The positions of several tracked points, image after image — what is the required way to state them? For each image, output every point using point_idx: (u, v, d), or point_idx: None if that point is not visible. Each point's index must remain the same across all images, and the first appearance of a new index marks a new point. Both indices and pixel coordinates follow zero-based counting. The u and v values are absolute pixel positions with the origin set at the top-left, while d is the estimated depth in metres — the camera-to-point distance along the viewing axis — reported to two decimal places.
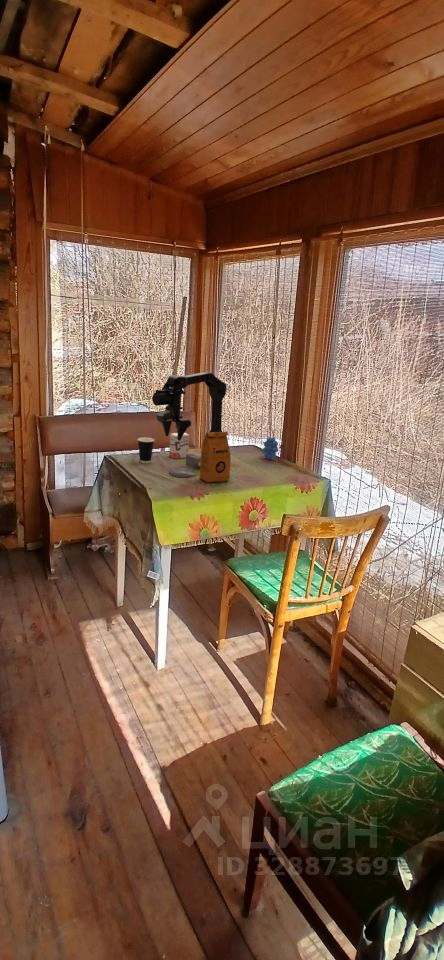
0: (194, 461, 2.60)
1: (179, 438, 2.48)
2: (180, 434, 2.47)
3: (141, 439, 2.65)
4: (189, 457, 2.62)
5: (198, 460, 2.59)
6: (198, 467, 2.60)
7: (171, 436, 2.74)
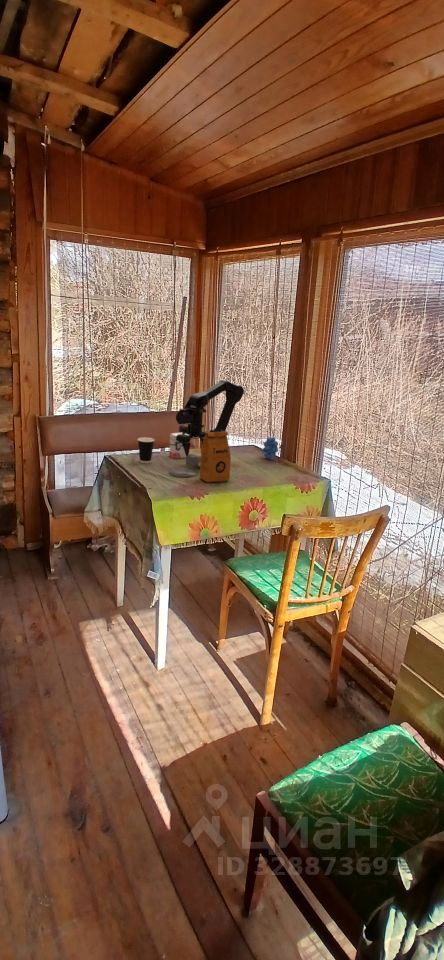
0: (194, 461, 2.60)
1: (185, 453, 2.59)
2: (185, 449, 2.58)
3: (141, 439, 2.65)
4: (189, 457, 2.62)
5: (198, 460, 2.59)
6: (198, 467, 2.60)
7: (171, 436, 2.74)
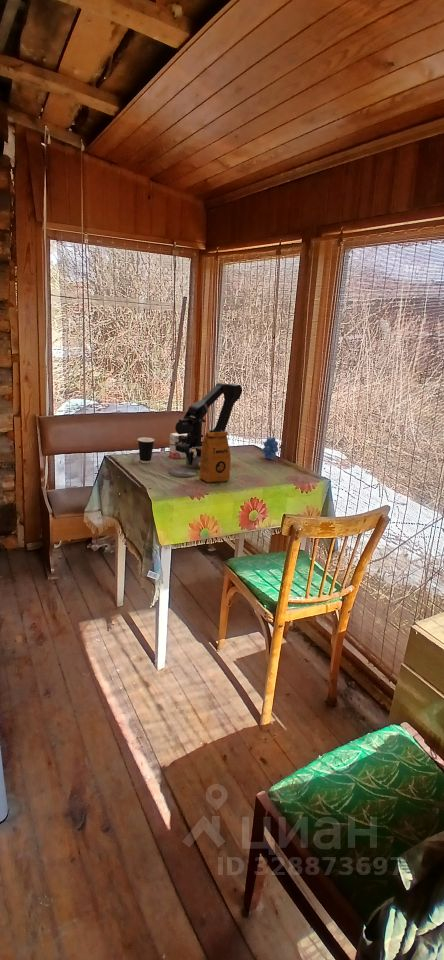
0: (194, 461, 2.60)
1: (189, 462, 2.62)
2: (188, 458, 2.61)
3: (141, 439, 2.65)
4: None
5: (198, 460, 2.59)
6: (198, 467, 2.60)
7: (171, 436, 2.74)
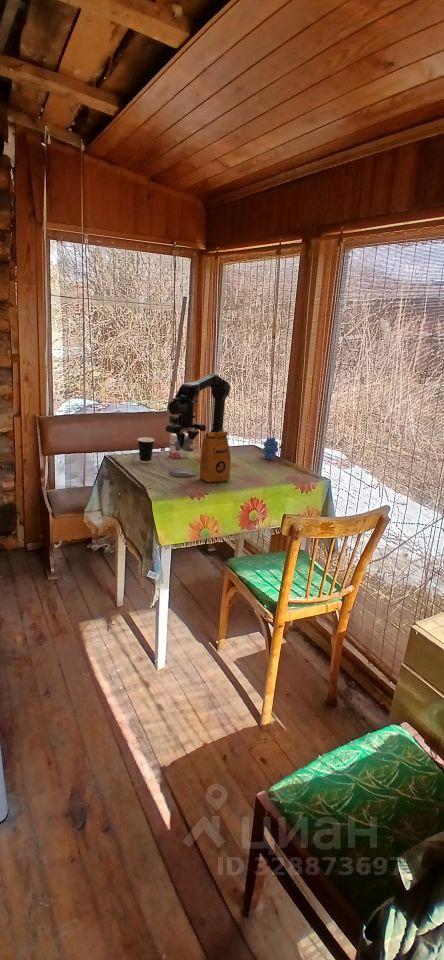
0: (185, 443, 2.45)
1: (180, 444, 2.47)
2: (179, 440, 2.47)
3: (141, 439, 2.65)
4: None
5: (189, 442, 2.45)
6: (189, 449, 2.46)
7: (171, 436, 2.74)
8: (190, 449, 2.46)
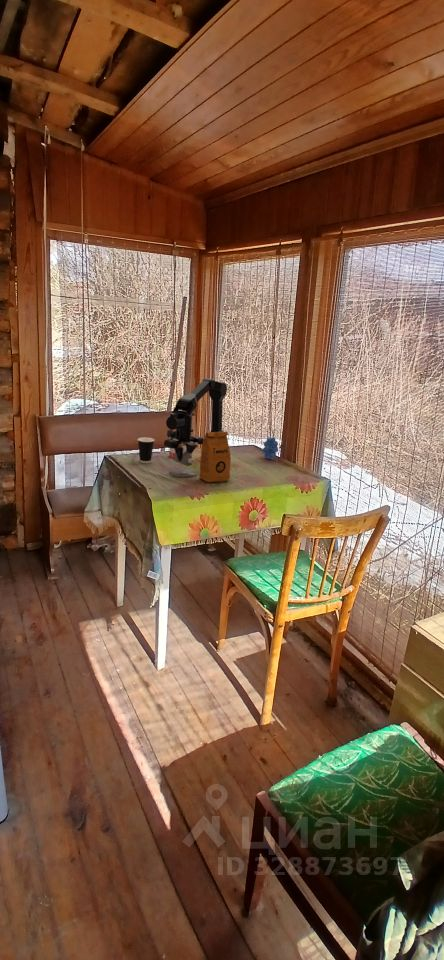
0: (184, 457, 2.46)
1: (178, 458, 2.48)
2: (177, 454, 2.47)
3: (141, 439, 2.65)
4: None
5: (188, 456, 2.45)
6: (188, 463, 2.46)
7: None
8: (188, 463, 2.46)
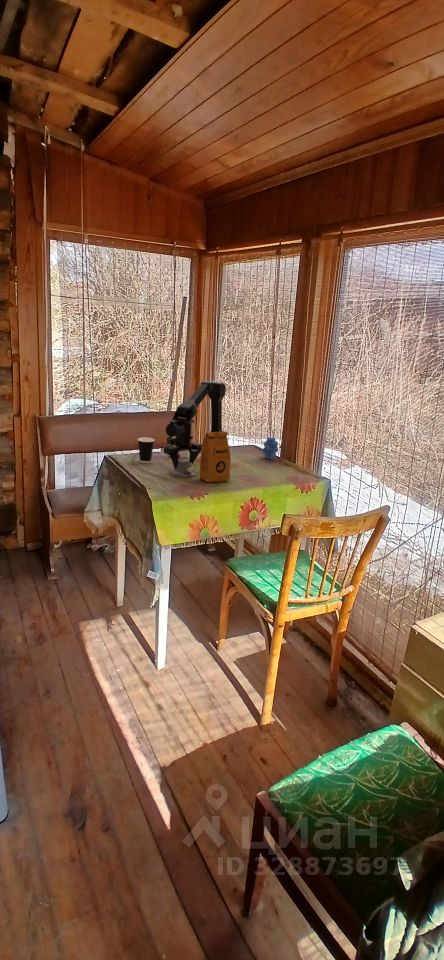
0: (183, 466, 2.47)
1: (174, 466, 2.47)
2: (173, 462, 2.46)
3: (141, 439, 2.65)
4: (178, 462, 2.49)
5: (187, 465, 2.46)
6: (187, 472, 2.47)
7: None
8: (188, 472, 2.47)
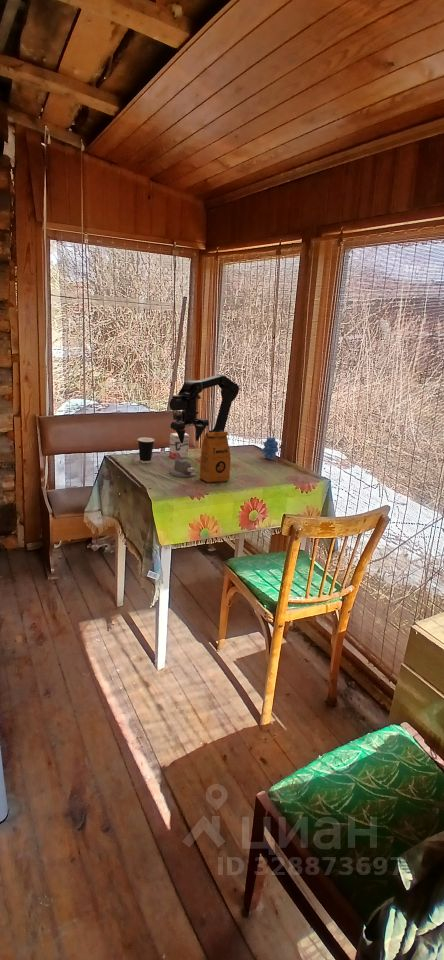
0: (183, 466, 2.47)
1: (180, 441, 2.55)
2: (179, 437, 2.54)
3: (141, 439, 2.65)
4: (178, 462, 2.49)
5: (187, 465, 2.46)
6: (187, 472, 2.47)
7: (171, 436, 2.74)
8: (188, 472, 2.47)
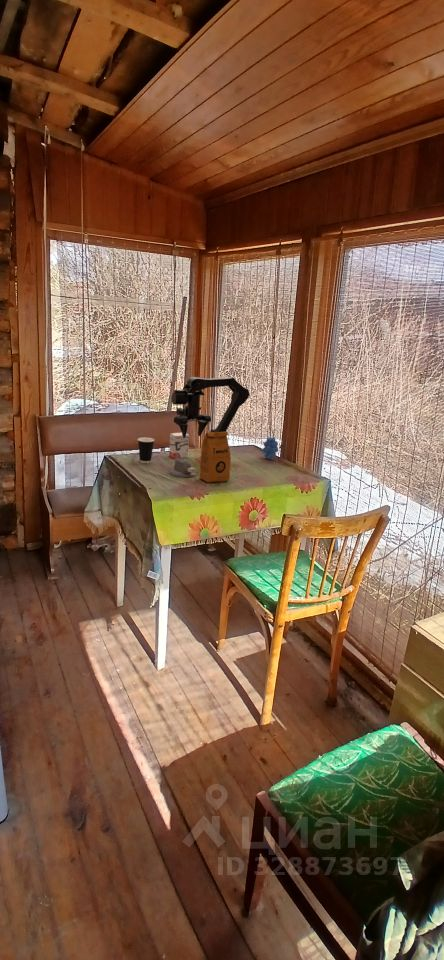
0: (183, 466, 2.47)
1: (183, 435, 2.61)
2: (182, 431, 2.60)
3: (141, 439, 2.65)
4: (178, 462, 2.49)
5: (187, 465, 2.46)
6: (187, 472, 2.47)
7: (171, 436, 2.74)
8: (188, 472, 2.47)
